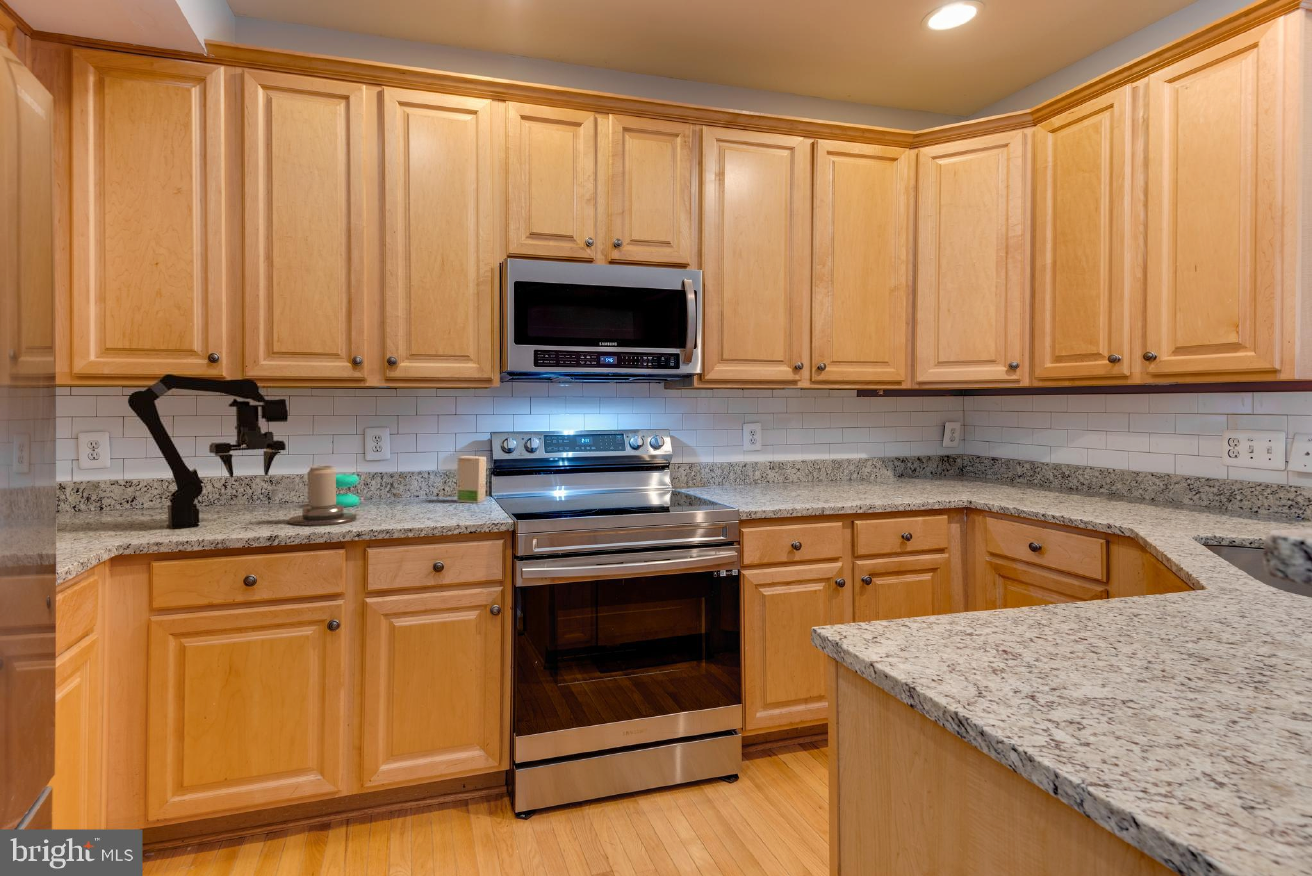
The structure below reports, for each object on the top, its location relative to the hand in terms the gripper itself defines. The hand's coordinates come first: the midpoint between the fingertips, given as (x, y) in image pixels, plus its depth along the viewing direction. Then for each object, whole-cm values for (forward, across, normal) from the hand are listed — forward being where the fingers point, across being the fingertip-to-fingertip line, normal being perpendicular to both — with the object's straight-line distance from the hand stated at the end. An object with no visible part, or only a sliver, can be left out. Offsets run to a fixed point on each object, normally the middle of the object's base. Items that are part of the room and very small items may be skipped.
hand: (249, 476), depth 215 cm
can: (+9, +15, -14) cm, 22 cm away
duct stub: (+13, +15, -14) cm, 24 cm away
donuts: (+13, +32, +10) cm, 36 cm away
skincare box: (+13, +67, -12) cm, 69 cm away
